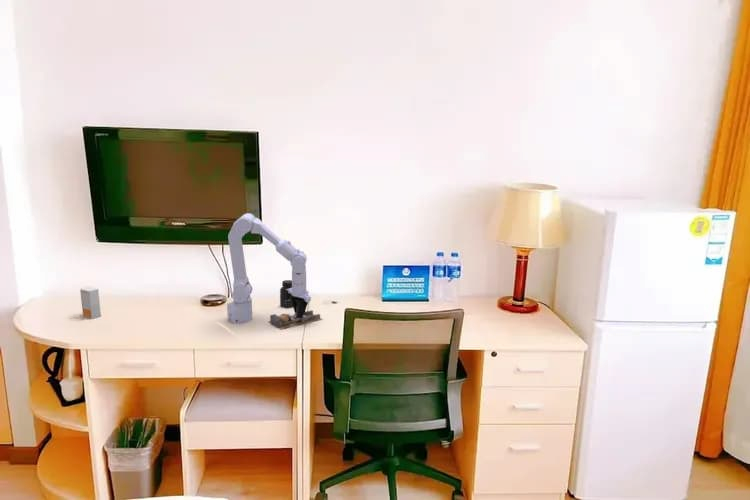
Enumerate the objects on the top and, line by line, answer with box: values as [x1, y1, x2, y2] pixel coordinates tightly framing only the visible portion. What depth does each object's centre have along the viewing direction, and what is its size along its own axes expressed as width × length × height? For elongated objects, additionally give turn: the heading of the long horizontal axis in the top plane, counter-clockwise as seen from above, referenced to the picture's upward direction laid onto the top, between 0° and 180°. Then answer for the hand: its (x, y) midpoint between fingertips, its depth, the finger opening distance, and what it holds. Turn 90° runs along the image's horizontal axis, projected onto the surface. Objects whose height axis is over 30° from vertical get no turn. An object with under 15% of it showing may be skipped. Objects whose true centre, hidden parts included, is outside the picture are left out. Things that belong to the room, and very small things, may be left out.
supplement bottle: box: [279, 279, 294, 309], centre depth 244 cm, size 7×7×12 cm
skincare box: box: [79, 286, 102, 320], centre depth 229 cm, size 6×4×12 cm
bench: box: [267, 309, 324, 331], centre depth 227 cm, size 20×11×4 cm, turn 128°
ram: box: [285, 305, 307, 323], centre depth 227 cm, size 7×4×6 cm, turn 128°
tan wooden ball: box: [278, 313, 289, 324], centre depth 224 cm, size 4×4×4 cm
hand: (299, 314), depth 228 cm, fingers closed on ram, 3 cm apart
